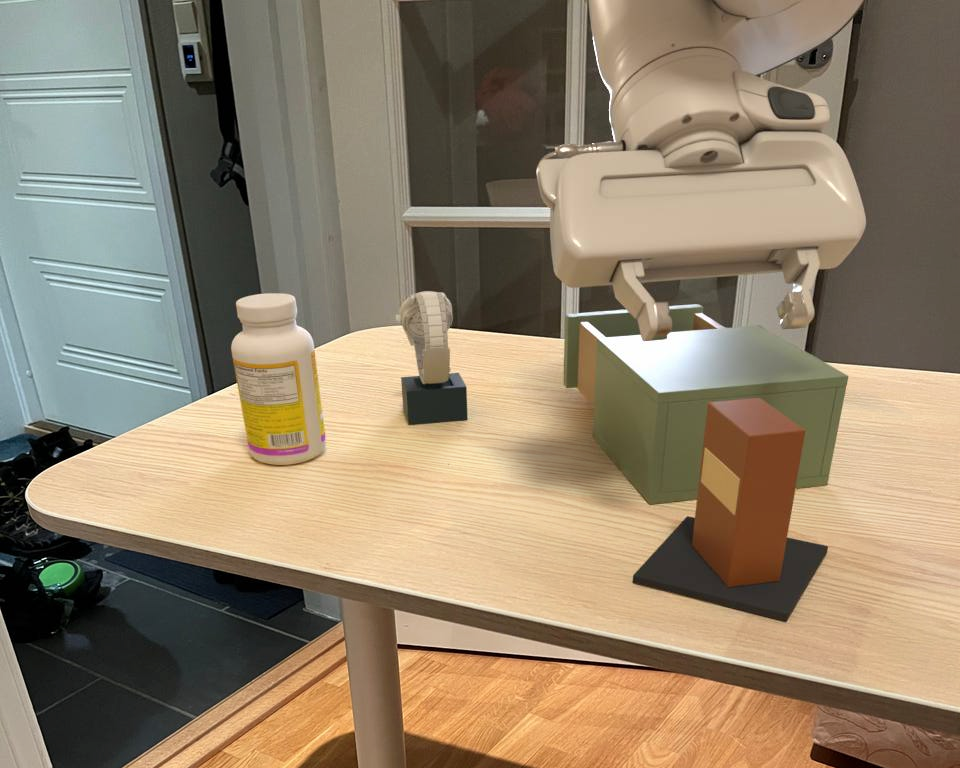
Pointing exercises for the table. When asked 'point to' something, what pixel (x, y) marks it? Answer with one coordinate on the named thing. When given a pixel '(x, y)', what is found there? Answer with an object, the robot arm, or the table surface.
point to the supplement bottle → (277, 381)
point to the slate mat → (694, 578)
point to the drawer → (613, 324)
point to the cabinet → (706, 401)
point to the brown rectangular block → (746, 490)
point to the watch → (431, 362)
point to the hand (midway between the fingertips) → (729, 330)
